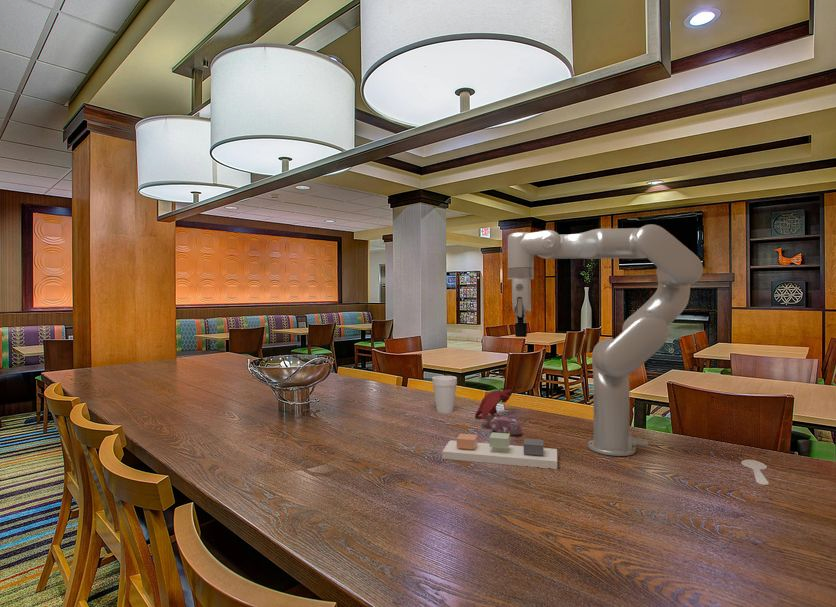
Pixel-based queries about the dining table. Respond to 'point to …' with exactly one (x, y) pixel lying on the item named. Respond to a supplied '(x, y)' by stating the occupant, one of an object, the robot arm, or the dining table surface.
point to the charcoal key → (533, 446)
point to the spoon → (756, 470)
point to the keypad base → (501, 455)
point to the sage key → (499, 440)
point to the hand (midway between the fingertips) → (521, 336)
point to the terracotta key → (467, 441)
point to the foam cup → (444, 393)
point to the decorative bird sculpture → (492, 402)
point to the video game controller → (505, 425)
